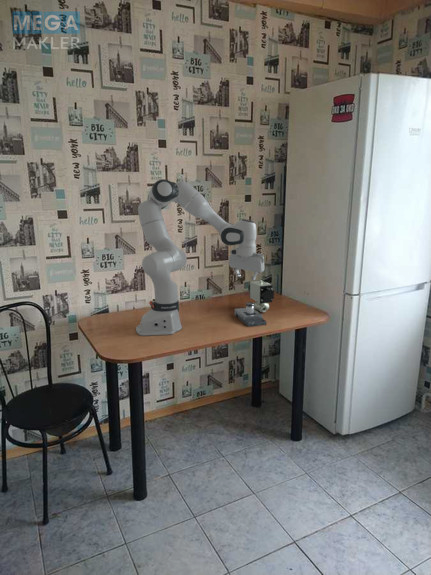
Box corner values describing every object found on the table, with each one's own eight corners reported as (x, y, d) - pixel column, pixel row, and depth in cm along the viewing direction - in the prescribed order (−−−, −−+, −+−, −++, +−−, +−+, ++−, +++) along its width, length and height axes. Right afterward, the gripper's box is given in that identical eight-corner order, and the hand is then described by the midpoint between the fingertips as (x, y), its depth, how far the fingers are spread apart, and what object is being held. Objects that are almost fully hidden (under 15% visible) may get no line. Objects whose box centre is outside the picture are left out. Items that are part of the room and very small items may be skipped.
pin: (248, 321, 216) (248, 305, 214) (244, 319, 220) (244, 302, 218) (255, 320, 218) (256, 304, 216) (251, 318, 222) (252, 301, 220)
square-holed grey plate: (247, 326, 208) (248, 319, 208) (234, 315, 227) (234, 308, 226) (266, 324, 211) (266, 318, 210) (251, 313, 230) (251, 307, 229)
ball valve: (275, 314, 228) (276, 282, 224) (262, 316, 225) (262, 284, 221) (260, 305, 244) (261, 276, 240) (247, 307, 241) (247, 277, 237)
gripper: (267, 253, 207) (266, 280, 211) (234, 248, 220) (234, 274, 223) (260, 255, 202) (259, 282, 206) (227, 250, 215) (226, 276, 218)
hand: (246, 278), depth 215 cm, fingers open, 8 cm apart
